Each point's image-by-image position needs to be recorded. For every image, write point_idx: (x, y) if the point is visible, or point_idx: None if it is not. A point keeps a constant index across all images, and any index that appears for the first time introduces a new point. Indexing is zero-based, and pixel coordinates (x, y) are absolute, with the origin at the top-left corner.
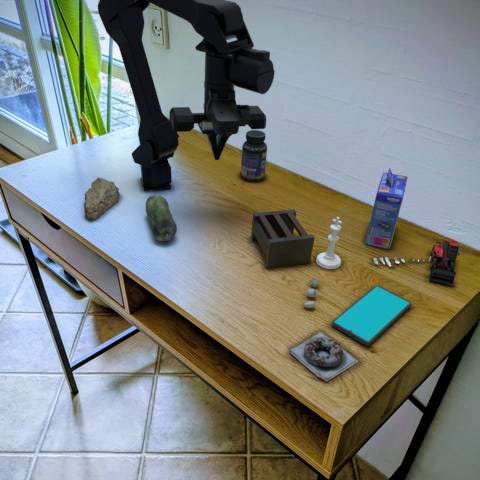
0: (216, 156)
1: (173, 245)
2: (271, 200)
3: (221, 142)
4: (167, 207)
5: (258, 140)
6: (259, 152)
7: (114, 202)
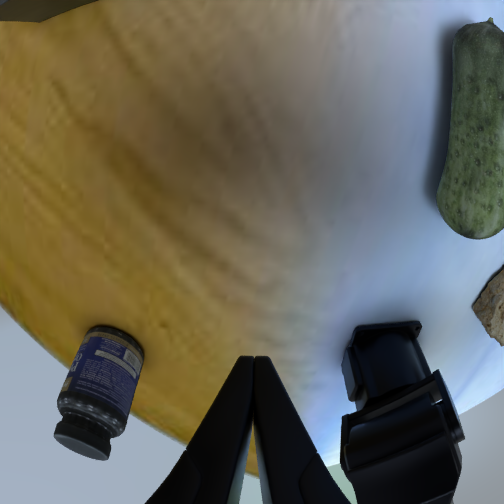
0: (261, 376)
1: (449, 18)
2: (62, 229)
3: (217, 488)
4: (480, 150)
5: (69, 428)
6: (72, 394)
7: (500, 274)
